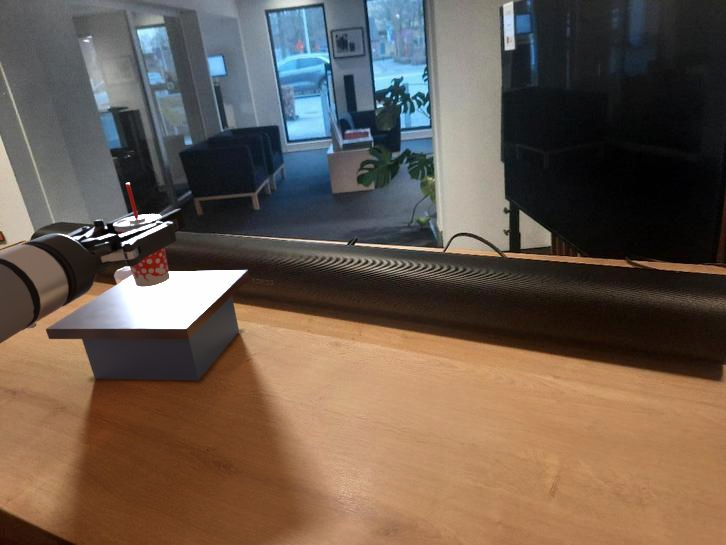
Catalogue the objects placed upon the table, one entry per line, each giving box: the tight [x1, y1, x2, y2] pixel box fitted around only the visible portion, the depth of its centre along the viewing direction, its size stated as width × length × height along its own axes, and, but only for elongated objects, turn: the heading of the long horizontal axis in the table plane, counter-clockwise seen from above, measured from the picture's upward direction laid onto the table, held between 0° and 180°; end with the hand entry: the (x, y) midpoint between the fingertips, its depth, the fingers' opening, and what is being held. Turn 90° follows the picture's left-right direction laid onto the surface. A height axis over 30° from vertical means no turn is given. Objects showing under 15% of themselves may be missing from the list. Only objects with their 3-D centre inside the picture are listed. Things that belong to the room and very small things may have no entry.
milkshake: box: [113, 266, 132, 285], centre depth 88 cm, size 5×5×10 cm
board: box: [45, 269, 250, 340], centre depth 72 cm, size 20×20×2 cm
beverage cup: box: [113, 182, 170, 287], centre depth 68 cm, size 6×6×14 cm
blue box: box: [81, 295, 240, 381], centre depth 73 cm, size 16×14×8 cm
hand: (159, 219), depth 73 cm, fingers closed on beverage cup, 6 cm apart
